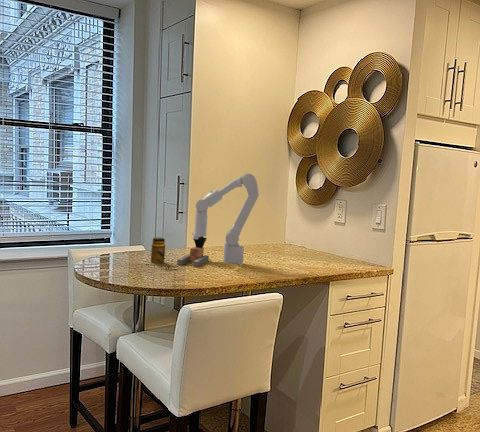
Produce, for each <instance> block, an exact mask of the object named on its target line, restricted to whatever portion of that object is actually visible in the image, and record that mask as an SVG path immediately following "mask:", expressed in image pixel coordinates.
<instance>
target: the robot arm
mask: <svg viewBox="0 0 480 432" xmlns="http://www.w3.org/2000/svg"><path fill="white" fill-rule="evenodd" d="M243 186H244V188H245V189H246V192H247V197H246V199H245V201H244V202H243V205H242V207H241V209H240V211H239V213H238V214H237V217H236V219H235V221H234V223H233V225H232V226H231V228H230V230H228V231H227V232H226V234H225V242H224V243H223V244H224V245H223V259H222V261H223V262H224V263H227V264H236V265H238V266H241V265H243V264H244V254H245V252H244V251H245V249H244V246H243V245H240V244H239V241H240V240H239V239H240V237H239V236H240V234H241V232H242V230H243V227H244V226H245V224H246V222H247V220H248V218H249V216H250V213H251V212H252V211H253V208H254V206H255V204H256V202H257V200H258V198H259V196H260V195H259V194H260V193H259V186H258V182H257V180H256V177H255V176H254V175H253V174H252V173H245V174H244V175H243V176H239V177H237V178H235V179H233V180H232V181H230V183H228V184H227V185H225V186H223V187H221V188H220V189H219V190H218V189H214V190H212V189H211V190H210V191H209V193H208V194H207V195H205V196H204V195H203V196H202V197H201V198H202V199H199V200H197V201H196V203H195V208H196V210H195V217H194V219H195V220H194V232H192V233H191V235H193V238H192V239H193V241H194V244H195V247H198V248H204V246H205V243H206V241H207V240H208V238H207V233H208V231H207V230H208V228H207V227H208V209H209V208H211V207H214V205H216V204H217V203H219V202H221V201H222V200H223V196H225V195H226V194H229V193H230V192H231V191H233V190H234V189H236V188H242V187H243Z"/></svg>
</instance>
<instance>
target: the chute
mask: <svg viewBox="0 0 480 432" xmlns="http://www.w3.org/2000/svg"><path fill="white" fill-rule="evenodd" d="M209 257H210V256H209V255H208V254H203V256H202V257H201V258H199V259H197V260H195V261H194V262H193V261H190V253H188V254H186V255H184V256H182V257H179V258H177V261H176V265H177V266H186V267H188V266H189V267H193V268H199V267H201V266H202V265H203V264H205V263H207V262H208V261H209Z"/></svg>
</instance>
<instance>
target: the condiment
mask: <svg viewBox="0 0 480 432" xmlns="http://www.w3.org/2000/svg"><path fill="white" fill-rule="evenodd" d="M165 240H166V239H165V238H164V237H153V238H152V243H151V250H150V251H151V254H150V263H151V264H150V265H149V263H146V264H145V266H152V267H153V266H154V267H156V265H157V267H160V265H161V264H162V265H163V264H164V263H165V257H166V256H165V253H166V243H165V242H166V241H165Z"/></svg>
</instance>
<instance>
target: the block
mask: <svg viewBox="0 0 480 432" xmlns="http://www.w3.org/2000/svg"><path fill="white" fill-rule="evenodd" d="M189 250H190V251H189V254H190V261H189V262H191V261H193V262H194V261H195V260H197V259H199V258H201V257H202V256H204V251H205V250H204V247H203V248H198V247H196V246H193V247H190V249H189Z"/></svg>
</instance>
